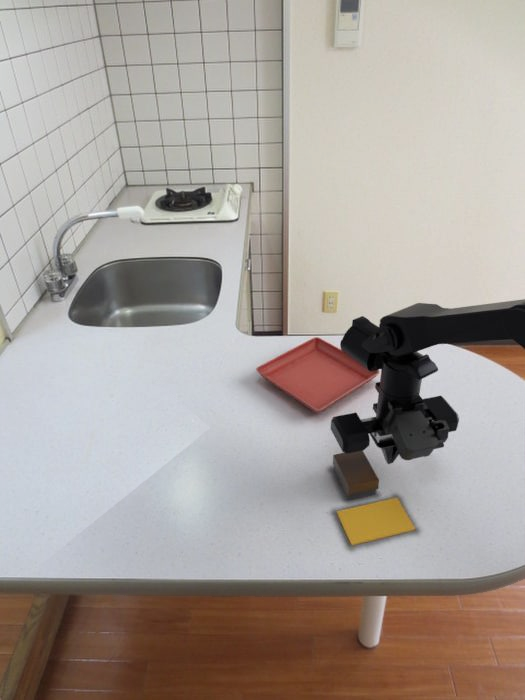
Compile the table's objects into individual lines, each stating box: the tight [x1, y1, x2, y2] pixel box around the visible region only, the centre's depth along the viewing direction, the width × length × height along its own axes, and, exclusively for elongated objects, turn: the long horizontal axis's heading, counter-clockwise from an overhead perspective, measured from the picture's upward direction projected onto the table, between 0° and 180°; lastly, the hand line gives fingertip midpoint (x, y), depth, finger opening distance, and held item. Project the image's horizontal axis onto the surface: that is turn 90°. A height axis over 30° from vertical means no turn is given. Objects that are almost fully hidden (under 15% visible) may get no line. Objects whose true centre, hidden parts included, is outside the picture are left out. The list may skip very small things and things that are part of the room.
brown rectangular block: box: [332, 450, 380, 501], centre depth 84 cm, size 7×5×4 cm
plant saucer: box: [255, 336, 381, 414], centre depth 106 cm, size 18×18×3 cm
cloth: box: [336, 497, 416, 546], centre depth 79 cm, size 10×6×1 cm, turn 104°
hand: (388, 461), depth 85 cm, fingers closed
